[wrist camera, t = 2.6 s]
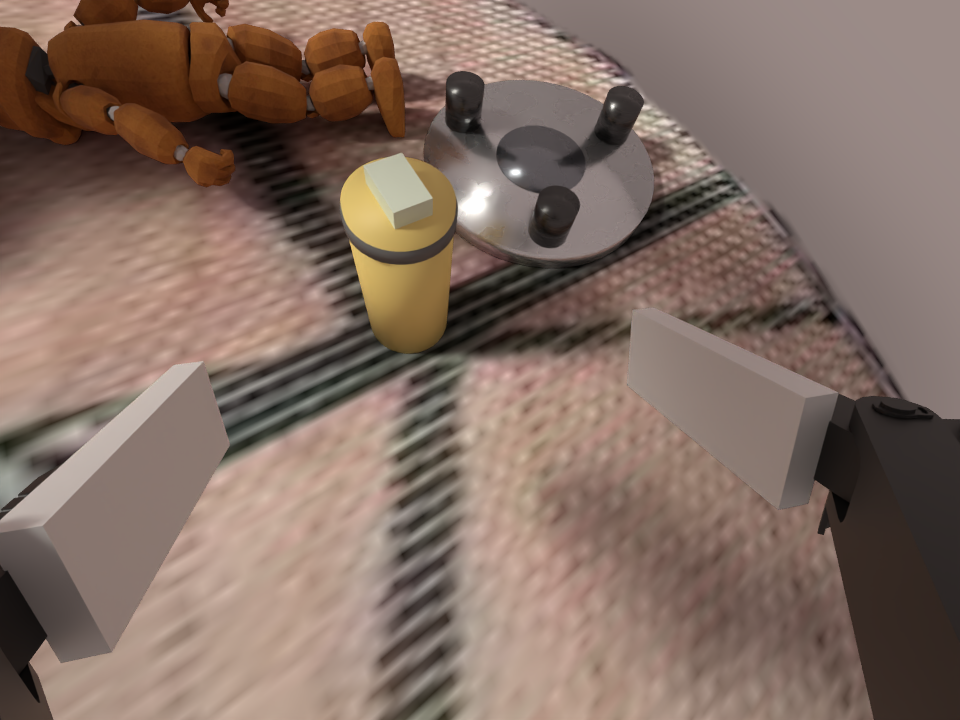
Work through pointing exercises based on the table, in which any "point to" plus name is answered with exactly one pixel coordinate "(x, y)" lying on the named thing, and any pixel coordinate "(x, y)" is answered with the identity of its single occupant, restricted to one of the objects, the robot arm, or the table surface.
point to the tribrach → (541, 168)
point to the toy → (187, 79)
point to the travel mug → (402, 247)
